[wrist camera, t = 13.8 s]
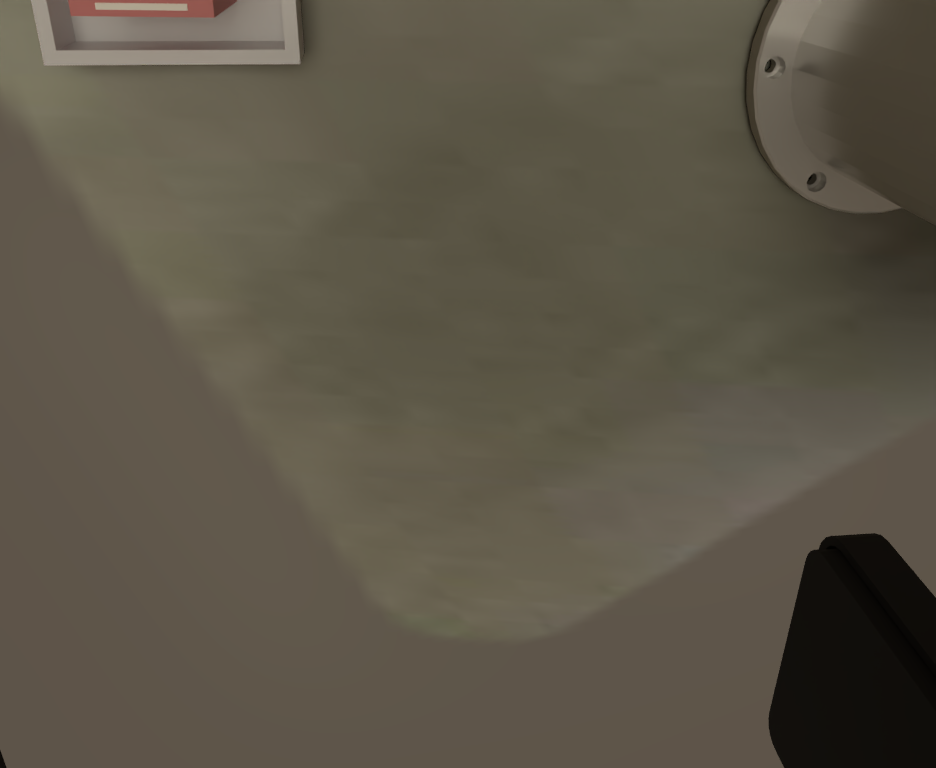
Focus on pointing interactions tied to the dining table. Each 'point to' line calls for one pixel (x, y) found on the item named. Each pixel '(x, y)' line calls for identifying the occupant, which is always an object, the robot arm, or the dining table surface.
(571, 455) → the dining table surface
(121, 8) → the red block with stripe
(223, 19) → the tray
